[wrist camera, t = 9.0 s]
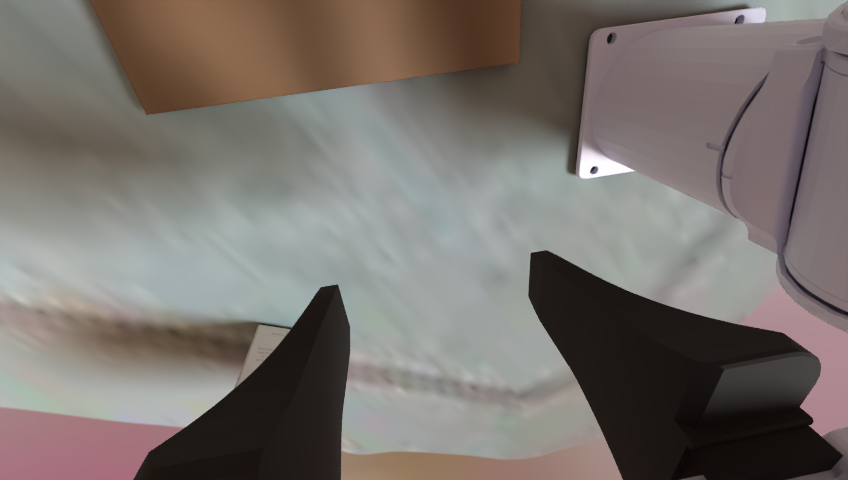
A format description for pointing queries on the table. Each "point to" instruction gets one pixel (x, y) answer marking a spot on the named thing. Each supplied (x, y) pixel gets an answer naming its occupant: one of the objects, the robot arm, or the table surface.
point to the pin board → (298, 44)
